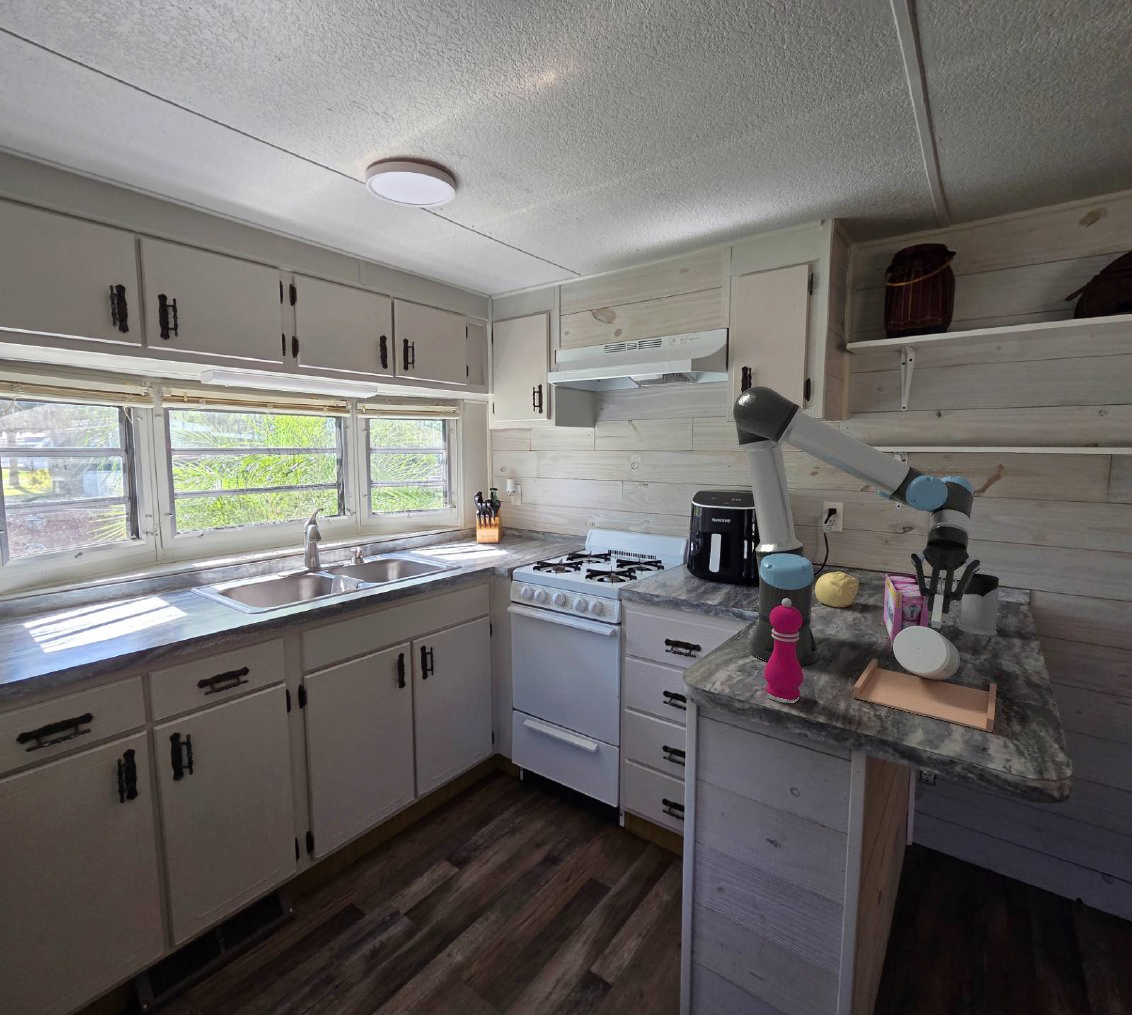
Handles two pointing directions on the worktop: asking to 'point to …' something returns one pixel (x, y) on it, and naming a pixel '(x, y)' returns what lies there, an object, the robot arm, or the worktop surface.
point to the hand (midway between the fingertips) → (935, 624)
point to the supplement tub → (926, 653)
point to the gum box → (903, 604)
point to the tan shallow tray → (927, 697)
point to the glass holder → (978, 605)
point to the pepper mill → (784, 653)
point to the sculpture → (836, 589)
